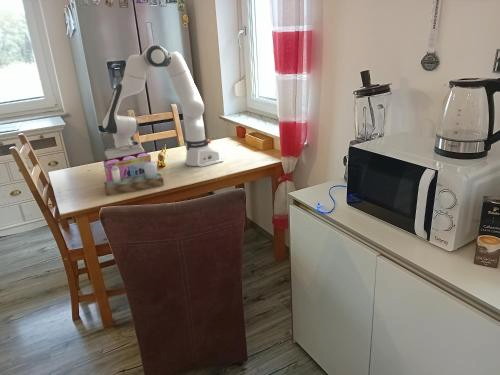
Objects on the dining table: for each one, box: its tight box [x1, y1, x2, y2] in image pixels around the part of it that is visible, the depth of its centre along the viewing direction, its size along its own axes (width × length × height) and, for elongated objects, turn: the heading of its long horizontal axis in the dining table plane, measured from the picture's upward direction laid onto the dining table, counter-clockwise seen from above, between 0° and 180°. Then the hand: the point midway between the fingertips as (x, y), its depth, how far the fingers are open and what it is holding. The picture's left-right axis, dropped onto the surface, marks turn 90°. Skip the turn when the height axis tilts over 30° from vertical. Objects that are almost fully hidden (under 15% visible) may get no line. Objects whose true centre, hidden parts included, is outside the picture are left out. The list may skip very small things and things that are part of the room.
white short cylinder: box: [143, 161, 158, 179], centre depth 202 cm, size 6×6×7 cm
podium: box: [104, 173, 165, 196], centre depth 201 cm, size 28×8×4 cm, turn 114°
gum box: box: [102, 151, 152, 182], centre depth 207 cm, size 24×8×14 cm, turn 124°
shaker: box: [111, 166, 121, 184], centre depth 195 cm, size 4×4×9 cm
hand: (129, 169), depth 212 cm, fingers closed
